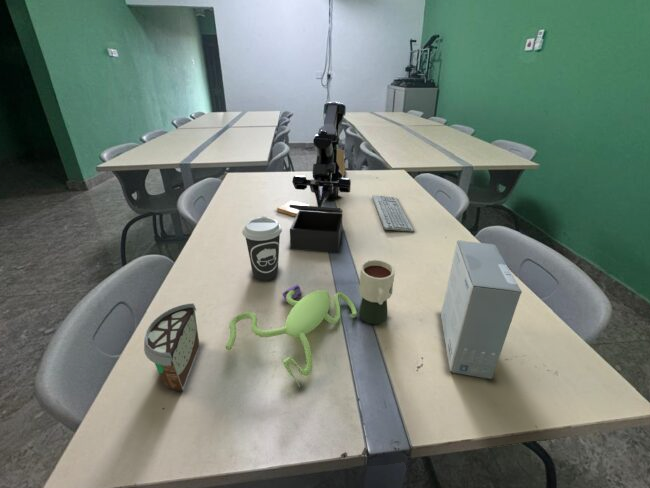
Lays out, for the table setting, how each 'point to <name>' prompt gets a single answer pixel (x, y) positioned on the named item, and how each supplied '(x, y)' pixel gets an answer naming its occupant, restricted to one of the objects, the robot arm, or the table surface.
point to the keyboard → (391, 214)
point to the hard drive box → (477, 308)
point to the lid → (316, 208)
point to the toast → (290, 211)
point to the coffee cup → (263, 246)
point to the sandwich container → (341, 161)
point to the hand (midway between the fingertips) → (319, 208)
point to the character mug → (375, 290)
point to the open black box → (316, 231)
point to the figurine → (298, 320)
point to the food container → (173, 345)
